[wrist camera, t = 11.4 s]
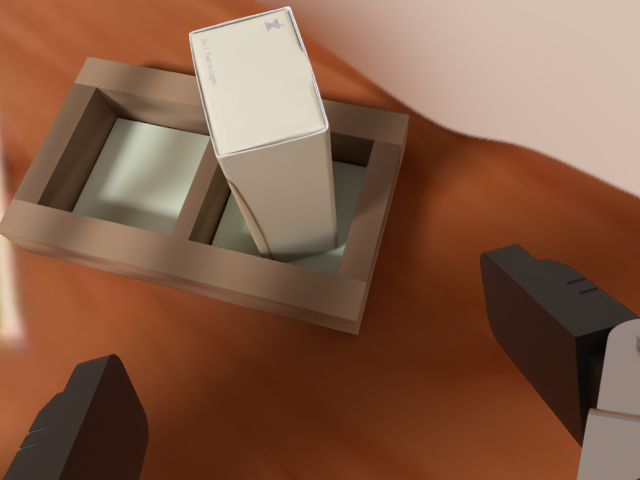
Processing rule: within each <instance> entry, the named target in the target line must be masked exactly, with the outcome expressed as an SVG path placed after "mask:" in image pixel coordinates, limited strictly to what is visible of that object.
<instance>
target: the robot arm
mask: <svg viewBox="0 0 640 480" xmlns="http://www.w3.org/2000/svg"><path fill="white" fill-rule="evenodd" d="M480 265H481V272H482V279H483V287H484V294H485V301H486V308H487V315H488V320H489V324H490V327H491V330H492V332H493V334H494V337H495V338H496V340H497V342H498V343H499V345H500V346H501V347H502V348H503V350H504V351H505V352H506V353H507V355H508V356H509V357H510V358H511V360H512V361H513V362H514V363H515V365H516V366H517V367H518V368H519V370H520V371H521V372H522V373H523V375H524V376H525V377H526V378H527V380H528V381H529V382H530V383H531V385H532V386H533V387H534V388H535V390H536V391H537V392H538V393H539V395H540V396H541V397H542V398H543V400H544V401H545V402H546V404H547V405H548V406H549V407H550V409H551V410H552V411H553V412H554V414H555V415H556V416H557V417H558V419H559V420H560V421H561V422H562V424H563V425H564V426H565V427H566V429H567V430H568V431H569V432H570V434H571V435H572V436H573V437H574V439H575V440H576V441H577V442H578V444H579V445H580V446H581V447H582V452H581V458H580V464H579V470H578V476H577V480H640V317H638V316H637V315H636V314H634V313H633V312H632V311H630V310H629V309H627V308H626V307H625V306H623V305H622V304H621V303H619V302H618V301H617V300H615V299H614V298H613V297H611V296H610V295H608V294H607V293H606V292H604V291H603V290H602V289H601V290H599V288H598V286H596V285H595V284H594V283H592V282H591V281H589V280H586V278H585V277H584V276H583V275H581V274H580V273H579V272H577V271H576V270H575V269H573V268H572V267H570V266H568V265H565V264H562V263H559V262H556V261H553V260H549V259H544V260H541V261H538V260H537V259H535V258H534V257H533V256H532V255H530V254H529V253H528V252H527V251H525V250H524V249H523V248H522V247H520V246H519V245H517V244H514V245H510V246H507V247H503V248H499V249H496V250H492V251H488V252H485V253H482V254H481V257H480ZM147 443H148V423H147V419H146V415H145V412H144V410H143V407H142V405H141V403H140V401H139V398H138V396H137V394H136V392H135V390H134V387H133V385H132V383H131V381H130V379H129V376H128V374H127V372H126V370H125V368H124V365H123V363H122V361H121V360H120V358H119V357H118V356H117V355H115V354H112V355H108V356H105V357H101V358H97V359H94V360H90V361H86V362H83V363H79V364H78V365H77V366H76V367H75V369H74V371H73V373H72V375H71V377H70V379H69V381H68V383H67V385H66V387H65V389H64V391H63V392H61V393H57V394H56V395H55V396H54V397H53V398H52V399H51V400H50V402H49V403H48V404H47V405H46V406H45V407H44V408H43V409H42V410H41V411H40V412H39V413H38V415H37V417H36V419H35V420H34V422H33V424H32V426H31V428H30V430H29V435H26V437H25V439H24V441H23V443H22V445H21V446H20V448H21V451H18V452H17V454H16V456H15V458H14V460H13V461H12V463H11V465H10V467H9V469H8V471H7V473H6V474H5V476H4V478H3V480H139V477H140V473H141V468H142V464H143V460H144V456H145V451H146V447H147Z"/></svg>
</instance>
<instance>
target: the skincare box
mask: <svg viewBox="0 0 640 480" xmlns="http://www.w3.org/2000/svg"><path fill="white" fill-rule="evenodd" d="M189 39H190V46H191V51H192V58H193V62H194V68H195V72H196V78H197V82H198V87H199V91H200V95H201V100H202V104H203V108H204V112H205V116H206V121H207V124H208V128H209V132H210V136H211V140H212V144H213V147H214V151H215V155H216V157H217V159H218V162H219V164H220V166H221V168H222V170H223V173H224V175H225V177H226V179H227V181H228V184H229V186H230V188H231V190H232V193H233V195H234V197H235V199H236V201H237V204H238V206H239V208H240V210H241V212H242V214H243V217H244V219H245V221H246V223H247V226H248V228H249V230H250V232H251V234H252V237H253V239H254V241H255V243H256V245H257V247H258V250H259V252H260V254H261V256H262V258H266V259H270V260H274V261H278V262H282V263H287V262H291V261H295V260H298V259H302V258H306V257H310V256H314V255H317V254H321V253H325V252H328V251H332V250H335V249H337V248H338V234H337V221H336V208H335V195H334V182H333V169H332V155H331V142H330V128H329V123H328V119H327V116H326V112H325V109H324V105H323V102H322V99H321V96H320V92H319V89H318V86H317V82H316V79H315V76H314V73H313V69H312V66H311V63H310V61H309V58H308V55H307V52H306V49H305V46H304V43H303V40H302V37H301V35H300V32H299V29H298V26H297V24H296V21H295V19H294V16H293V13H292V10H291V8H290V7H289V6H287V7H284V8H281V9H277V10H272V11H268V12H264V13H261V14H256V15H252V16H248V17H244V18H241V19H236V20H233V21H229V22H224V23H221V24H218V25H214V26H210V27H206V28H203V29H199V30H195V31H192V32H191V33H190V34H189Z"/></svg>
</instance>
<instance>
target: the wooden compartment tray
mask: <svg viewBox="0 0 640 480" xmlns="http://www.w3.org/2000/svg"><path fill="white" fill-rule="evenodd" d="M322 102H323V105H324V109H325V112H326V116H327V119H328V123H329V128H330V142H331V155H332V159H333V160H338V161H343V162H348V163H353V164H358V165H363V166H367V168H366V167H361V166H356V165H351V164H346V163H341V162H336V161H332V169H333V182H334V195H335V208H336V221H337V234H338V248H337V249H335V250H332V251H328V252H325V253H321V254H317V255H314V256H310V257H306V258H302V259H298V260H295V261H291V262H287V263H282V262H278V261H274V260H270V259H266V258H262V256H261V254H260V252H259V250H258V247H257V245H256V243H255V241H254V239H253V237H252V234H251V232H250V230H249V228H248V226H247V223H246V221H245V219H244V217H243V214H242V212H241V210H240V208H239V206H238V204H237V201H236V199H235V197H234V195H233V193H232V192H231V194H230V197H229V200H228V202H227V205H226V208H225V210H224V213H223V216H222V219H221V221H220V224H219V227H218V229H217V232H216V235H215V237H214V240H213V243H212V245H210V242H211V240H212V237H213V234H214V232H215V229H216V226H217V224H218V221H219V218H220V216H221V213H222V210H223V208H224V205H225V202H226V200H227V197H228V194H229V192H230V189H231V188H230V186H229V184H228V181H227V179H226V177H225V175H224V173H223V170H222V168H221V166H220V164H219V162H218V159H217V157H216V155H215V151H214V147H213V144H212V140H211V136H206V135H201V134H196V133H191V132H186V131H181V130H176V129H171V128H166V127H161V126H156V125H151V124H146V123H141V122H136V121H131V120H126V119H121V118H117V117H122V118H127V119H132V120H137V121H142V122H147V123H152V124H157V125H162V126H167V127H172V128H177V129H182V130H187V131H192V132H197V133H202V134H207V135H210V132H209V128H208V124H207V121H206V116H205V112H204V108H203V104H202V100H201V95H200V91H199V87H198V82H197V78H196V76H191V75H186V74H180V73H175V72H169V71H164V70H158V69H153V68H147V67H142V66H136V65H130V64H125V63H119V62H114V61H108V60H103V59H97V58H92V57H88V58H87V60H86V62H85V63H84V65H83V67H82V69H81V71H80V73H79V75H78V77H77V79H76V80H75V82H74V84H73V86H72V88H71V90H70V92H69V94H68V96H67V98H66V99H65V101H64V103H63V105H62V107H61V109H60V111H59V113H58V115H57V116H56V118H55V120H54V122H53V124H52V126H51V128H50V130H49V132H48V133H47V135H46V137H45V139H44V141H43V143H42V145H41V147H40V149H39V151H38V152H37V154H36V156H35V158H34V160H33V162H32V164H31V166H30V168H29V169H28V171H27V173H26V175H25V177H24V179H23V181H22V183H21V185H20V186H19V188H18V190H17V192H16V194H15V196H14V198H13V200H12V202H11V204H10V205H9V207H8V209H7V211H6V213H5V215H4V217H3V219H2V221H1V222H0V234H1V235H3V236H4V237H6V238H8V239H9V240H11V241H12V242H14V243H15V244H17V245H19V246H20V247H22V248H23V249H25V250H26V251H28V252H32V253H36V254H40V255H44V256H48V257H52V258H56V259H60V260H64V261H68V262H72V263H76V264H79V265H83V266H87V267H91V268H95V269H99V270H103V271H107V272H111V273H115V274H119V275H123V276H127V277H131V278H134V279H138V280H142V281H146V282H150V283H154V284H158V285H162V286H166V287H170V288H174V289H178V290H182V291H186V292H189V293H193V294H197V295H201V296H205V297H209V298H213V299H217V300H221V301H225V302H229V303H233V304H237V305H241V306H244V307H248V308H252V309H256V310H260V311H264V312H268V313H272V314H276V315H280V316H284V317H288V318H292V319H296V320H299V321H303V322H307V323H311V324H315V325H319V326H323V327H327V328H331V329H335V330H339V331H343V332H347V333H351V334H354V335H358V333H359V329H360V325H361V321H362V317H363V313H364V309H365V305H366V301H367V297H368V293H369V289H370V285H371V281H372V277H373V273H374V269H375V265H376V261H377V257H378V253H379V250H380V246H381V242H382V238H383V234H384V230H385V226H386V222H387V218H388V214H389V210H390V206H391V202H392V198H393V194H394V190H395V186H396V182H397V178H398V174H399V170H400V167H401V163H402V159H403V155H404V151H405V147H406V141H407V133H408V124H409V116H410V115H407V114H402V113H396V112H391V111H385V110H380V109H374V108H369V107H363V106H358V105H352V104H347V103H341V102H335V101H330V100H324V99H322ZM116 118H117V120H116ZM115 121H116V122H115ZM114 123H115V124H114ZM113 125H114V127H113ZM112 127H113V129H112ZM111 129H112V131H111ZM110 131H111V133H110ZM109 133H110V135H109ZM108 135H109V137H108ZM107 137H108V139H107ZM106 139H107V141H106ZM105 141H106V143H105ZM104 143H105V145H104ZM103 145H104V147H103ZM102 148H103V149H102ZM101 150H102V151H101ZM100 152H101V154H100ZM99 154H100V156H99ZM98 156H99V158H98ZM97 158H98V160H97ZM96 160H97V162H96ZM95 162H96V164H95ZM94 164H95V166H94ZM93 166H94V168H93ZM92 168H93V170H92ZM91 170H92V172H91ZM90 172H91V174H90ZM89 175H90V176H89ZM88 177H89V179H88ZM87 179H88V181H87ZM86 181H87V183H86ZM85 183H86V185H85ZM84 185H85V187H84ZM83 187H84V189H83ZM82 189H83V191H82ZM81 191H82V193H81ZM80 193H81V195H80ZM79 195H80V197H79ZM78 197H79V199H78ZM77 199H78V201H77ZM76 202H77V203H76ZM75 204H76V206H75ZM74 206H75V208H74ZM73 208H74V210H73ZM72 210H73V212H72ZM71 212H72V213H71Z"/></svg>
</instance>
